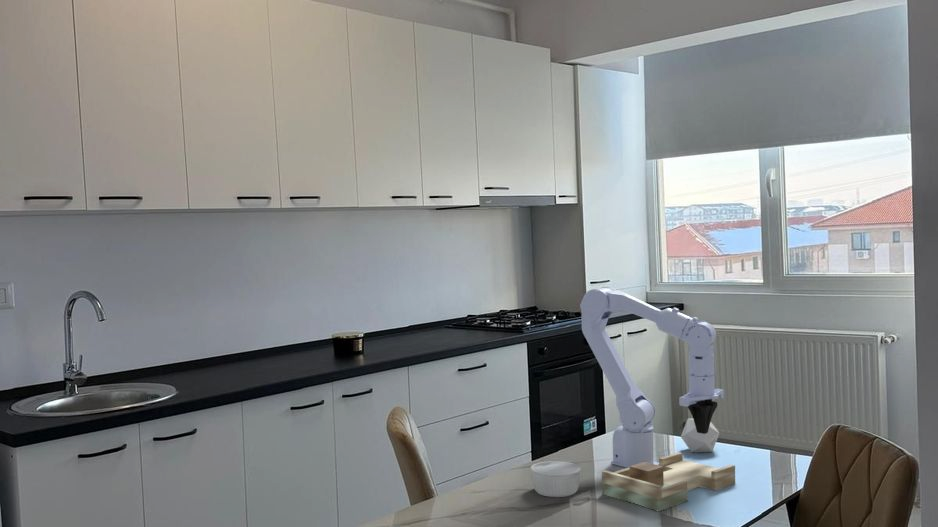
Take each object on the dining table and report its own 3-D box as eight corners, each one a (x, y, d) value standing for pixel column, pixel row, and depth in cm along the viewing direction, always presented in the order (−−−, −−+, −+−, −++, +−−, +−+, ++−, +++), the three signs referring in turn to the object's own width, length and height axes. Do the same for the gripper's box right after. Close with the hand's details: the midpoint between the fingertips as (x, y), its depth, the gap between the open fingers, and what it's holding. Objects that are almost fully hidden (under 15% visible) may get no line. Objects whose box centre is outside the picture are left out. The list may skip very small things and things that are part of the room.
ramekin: (552, 480, 188) (552, 457, 188) (592, 490, 180) (591, 466, 180) (520, 491, 180) (519, 468, 180) (559, 503, 172) (559, 478, 172)
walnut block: (629, 485, 175) (629, 466, 175) (644, 480, 178) (644, 461, 178) (648, 490, 171) (648, 471, 171) (663, 485, 174) (663, 466, 174)
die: (712, 459, 204) (729, 424, 206) (679, 441, 205) (696, 406, 208) (702, 462, 212) (719, 428, 214) (671, 445, 213) (688, 411, 216)
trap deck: (602, 494, 177) (602, 471, 177) (679, 469, 194) (678, 448, 194) (658, 511, 165) (658, 487, 165) (735, 483, 182) (735, 461, 182)
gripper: (697, 380, 182) (698, 441, 182) (734, 372, 191) (735, 430, 192) (671, 376, 187) (672, 435, 188) (708, 369, 197) (709, 425, 197)
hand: (702, 432), depth 190 cm, fingers closed
